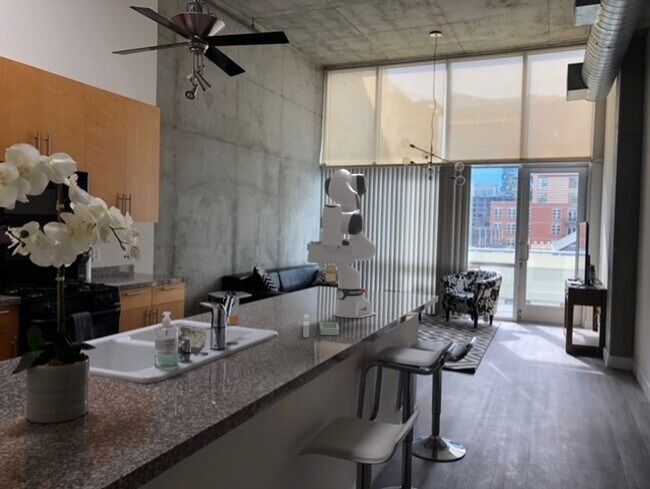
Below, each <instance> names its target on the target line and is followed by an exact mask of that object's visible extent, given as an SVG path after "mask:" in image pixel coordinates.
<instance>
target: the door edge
mask: <svg viewBox="0 0 650 489" xmlns="http://www.w3.org/2000/svg"><path fill="white" fill-rule="evenodd" d="M302 333H303V334H302V335H303V336H302V337H303V338H310V313H308V314H307V313H305V314H303V330H302Z"/></svg>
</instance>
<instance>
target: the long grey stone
mask: <svg viewBox="0 0 650 489" xmlns="http://www.w3.org/2000/svg"><path fill="white" fill-rule="evenodd" d="M180 332H181V335H180V336H181V340H182V339H189V340H190V342H191V353H190V354H198V353H200V352H201V351H202V350H203V348H204V346H205V345H206V339H207V332H206V330H205V329H203V328H202V327H201V326H192V325H189V324H188V325H182V326H180Z"/></svg>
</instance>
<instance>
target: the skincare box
mask: <svg viewBox="0 0 650 489" xmlns="http://www.w3.org/2000/svg"><path fill="white" fill-rule="evenodd" d="M235 297H236V302H235V304H234V305H233V307H232V309H231V313H230V317H229V322H228V325H227V326H230V325H237V324H239V317H240V316H239V314H240V311H239V309H240V308H239V307H240V297H238V296H235ZM225 298H226V297H223V302H224V299H225Z"/></svg>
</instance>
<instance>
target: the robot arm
mask: <svg viewBox="0 0 650 489" xmlns="http://www.w3.org/2000/svg"><path fill="white" fill-rule="evenodd" d="M323 185H324V186H323V187H324V192H325V194H326V196H328V197H329V198H330V200H332V202H334V203H326V204H324V205H323V206H322V207H323V209H322V214H321V216H320V229H321V234H320V238H321V239H320V240H319V241H318V240H317V241H313V240H311V241H309V242H308V243H307V244H306V250H307V262H308V263H309V264H319V266H320V268H321V269H322V274H325V275H326V268H324V267H323V266H324V264H333V265H335V266H336V275H337V277H338V280H337V281H338V285H337V286H338V287H337V290H336V294H337V299H336V300H337V301H336V306H335V311H334V316H336V317H340V318H350V319H351V318H353V319H354V318H355V319H364V318H368V317H372V316H376V315H377V312H375V311H372V310H373V308H372V303H371V302H370V301H369V300H368V299H367V298H366V297H365V296H364V295H363V293H364V294H365V293H366V292H367V289H366V288H361V272H360V271H359V270H358V269H356V268H355V267H354V266H351V265H353V264H354V263H355V262H361V261H362V262H364V261H369V260H372V259H373V258H374V257H375V255H376V251H377V250H376V245H375V244H374V242H373V241H372V240H370V239H369V238H368V237H367V235H366V234H365V232H364V224H365V222H364V218H363V215H362V209H361V203H360V199H361V198H362V196H363V195H365V194H366V192H367V189H368V186H369V184H368V179H367V177H366V176H365V174H363V173H357V174H356V173H350V171H348V170H346V169H342V168H340V169H337V170H336V171H334V172H333V174H332V176H330V177H327V178H326V179H325V181H324V184H323ZM343 235H348V236H349V238H343ZM350 264H351V265H350Z"/></svg>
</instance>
